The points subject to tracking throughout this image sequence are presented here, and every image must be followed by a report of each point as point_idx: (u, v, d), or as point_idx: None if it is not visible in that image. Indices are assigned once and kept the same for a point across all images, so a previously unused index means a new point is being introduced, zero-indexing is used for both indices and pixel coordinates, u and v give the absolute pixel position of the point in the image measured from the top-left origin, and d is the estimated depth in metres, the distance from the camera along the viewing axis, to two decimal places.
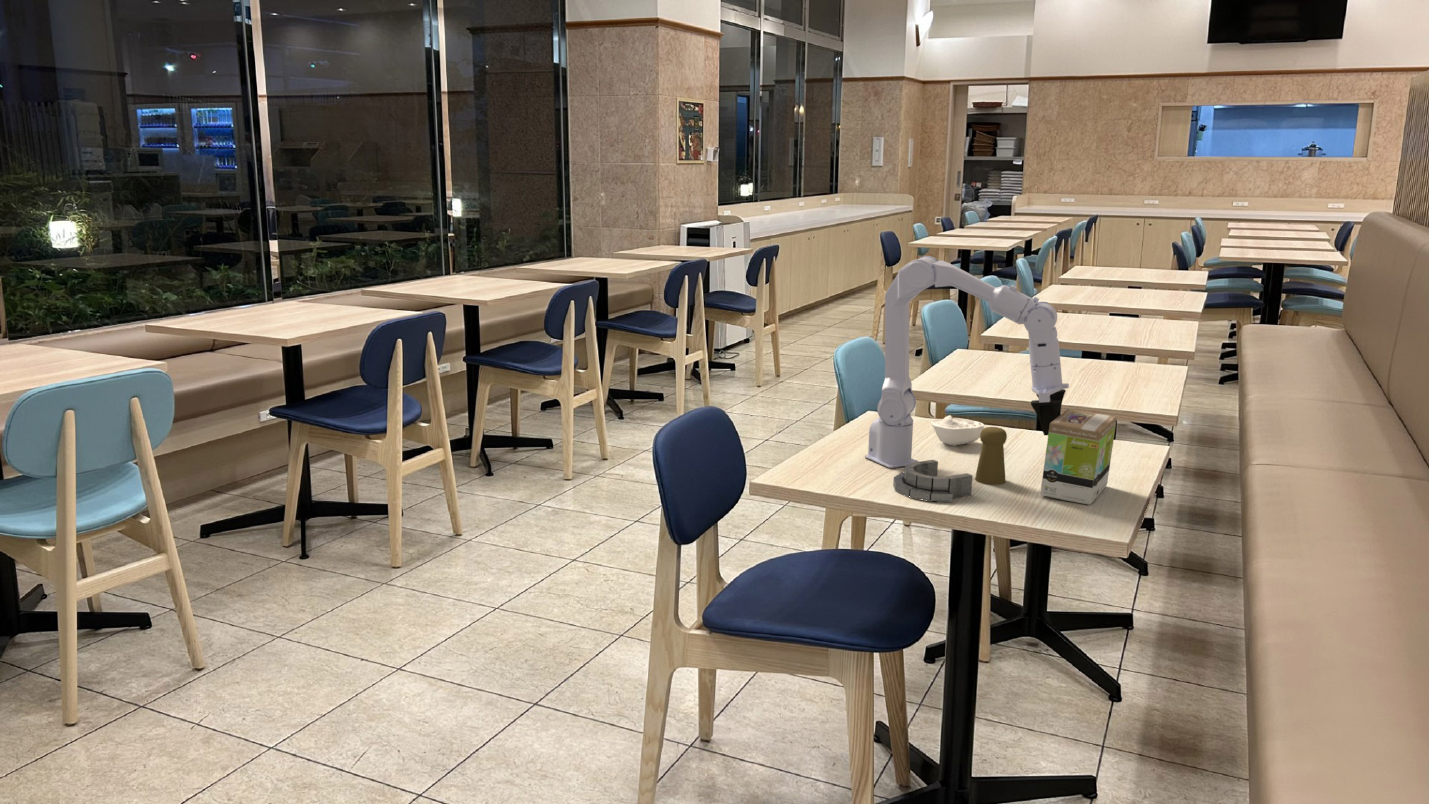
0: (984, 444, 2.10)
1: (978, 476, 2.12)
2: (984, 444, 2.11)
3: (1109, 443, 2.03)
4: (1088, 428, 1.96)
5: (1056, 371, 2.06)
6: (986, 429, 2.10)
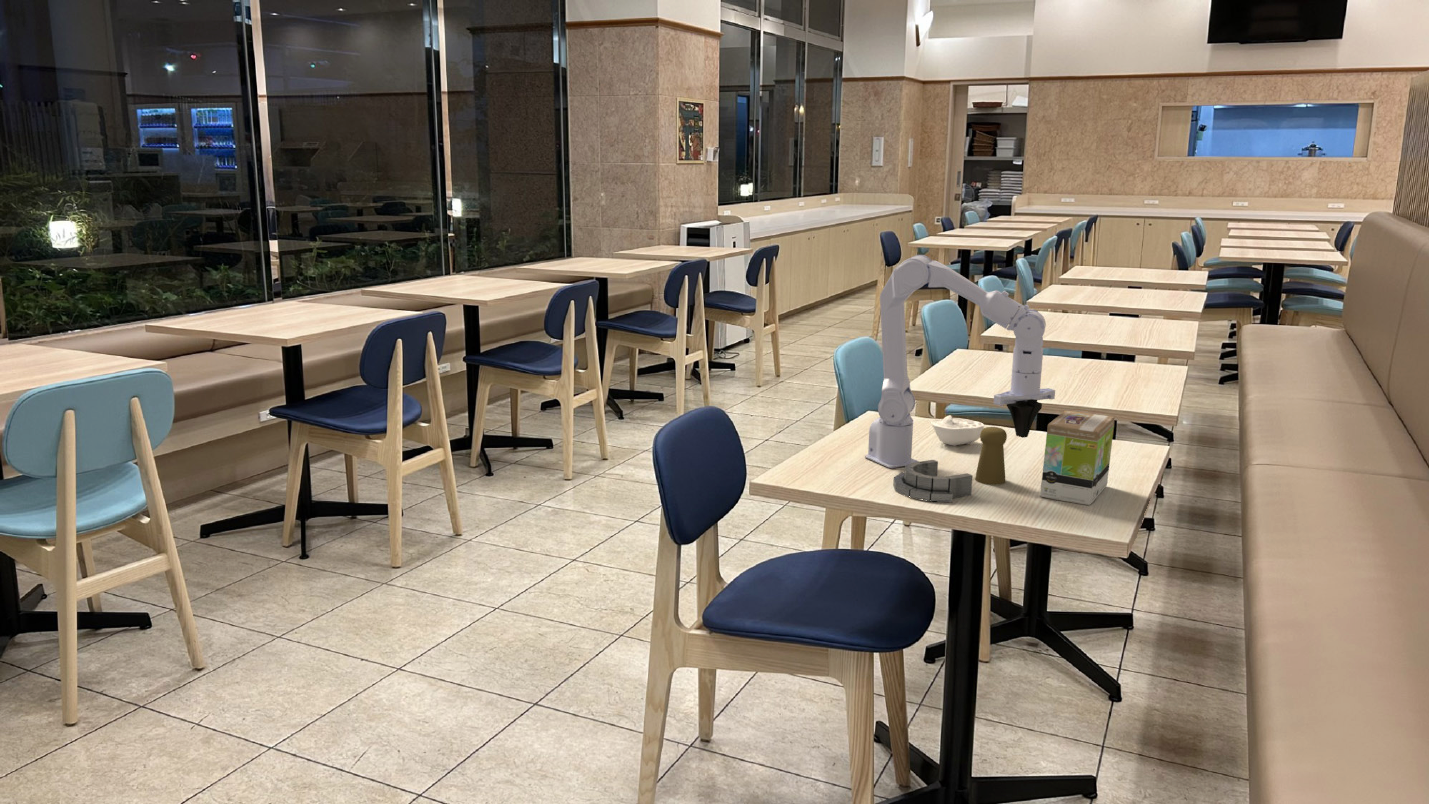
0: (984, 444, 2.10)
1: (978, 476, 2.12)
2: (984, 444, 2.11)
3: (1108, 443, 2.03)
4: (1086, 429, 1.96)
5: (1027, 380, 2.09)
6: (986, 429, 2.10)
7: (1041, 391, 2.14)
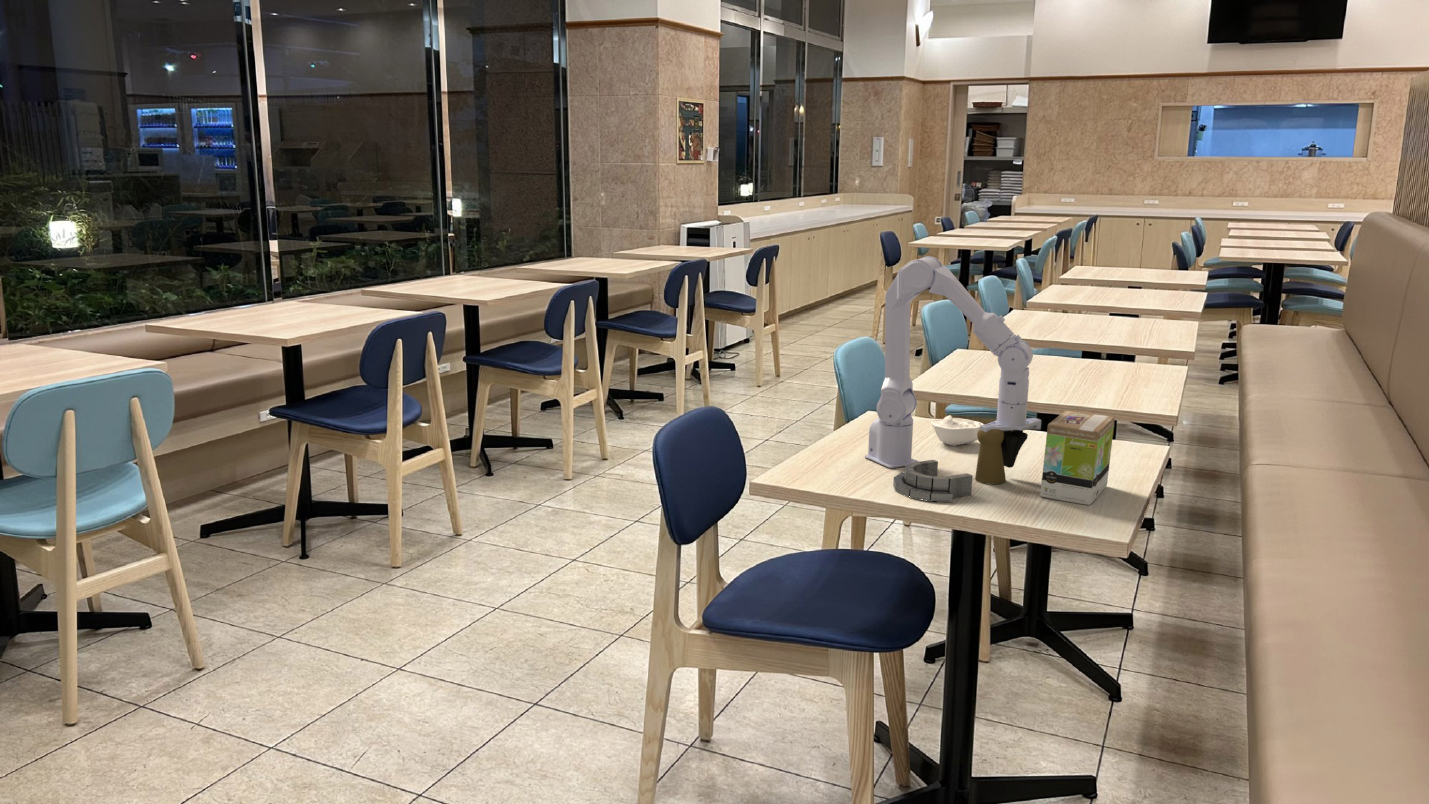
0: (982, 444, 2.10)
1: (978, 476, 2.12)
2: (981, 444, 2.10)
3: (1108, 443, 2.03)
4: (1086, 429, 1.96)
5: (1012, 411, 2.09)
6: None
7: (1027, 421, 2.14)
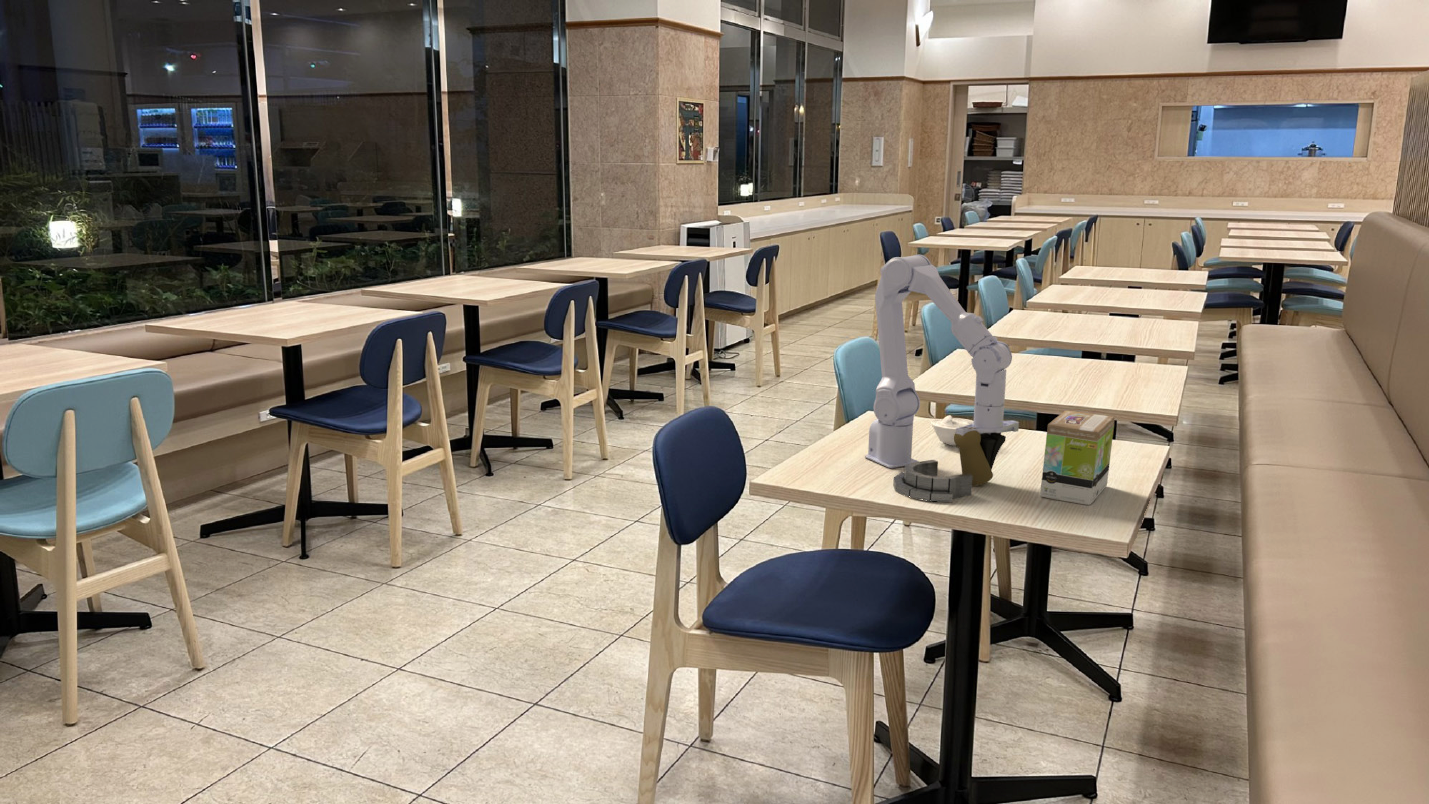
0: (961, 449, 2.07)
1: None
2: (960, 449, 2.07)
3: (1108, 443, 2.03)
4: (1086, 429, 1.96)
5: (989, 413, 2.06)
6: (958, 435, 2.06)
7: (1005, 423, 2.11)
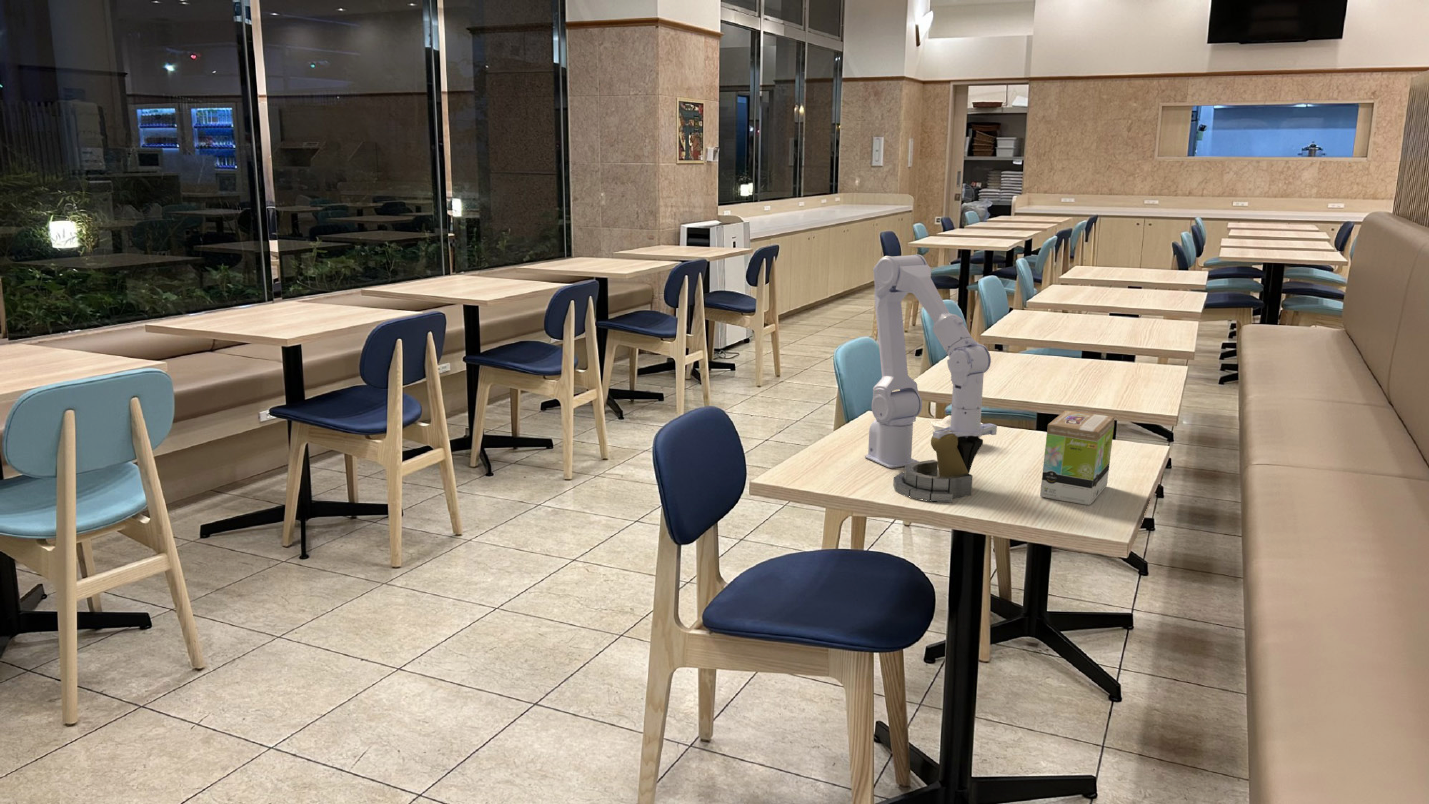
0: (938, 453, 2.05)
1: None
2: (937, 452, 2.05)
3: (1108, 443, 2.03)
4: (1086, 429, 1.96)
5: (966, 416, 2.03)
6: (935, 438, 2.04)
7: (982, 426, 2.09)
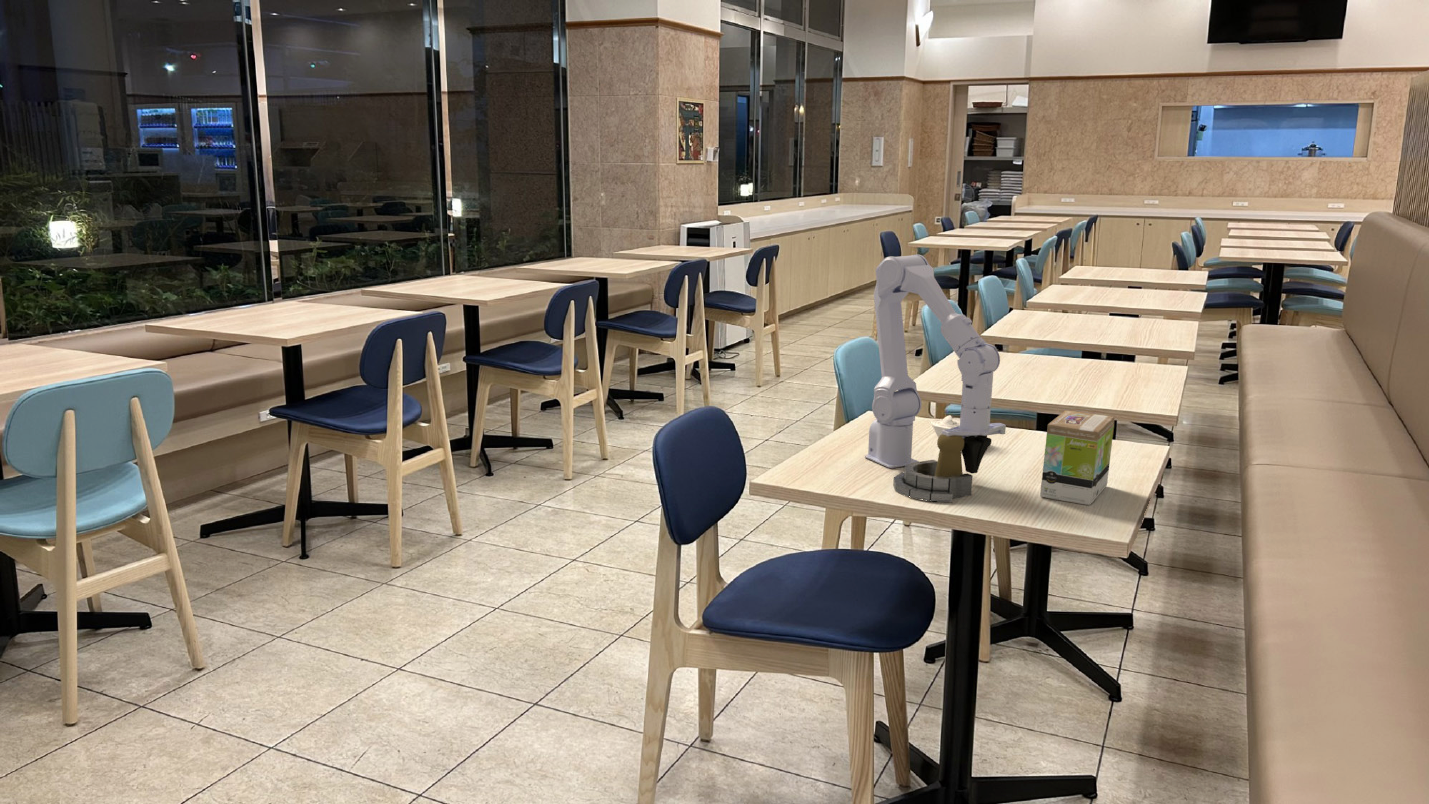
0: (941, 451, 2.05)
1: None
2: (941, 451, 2.05)
3: (1108, 443, 2.03)
4: (1086, 429, 1.96)
5: (975, 416, 2.05)
6: (943, 435, 2.05)
7: (991, 426, 2.10)
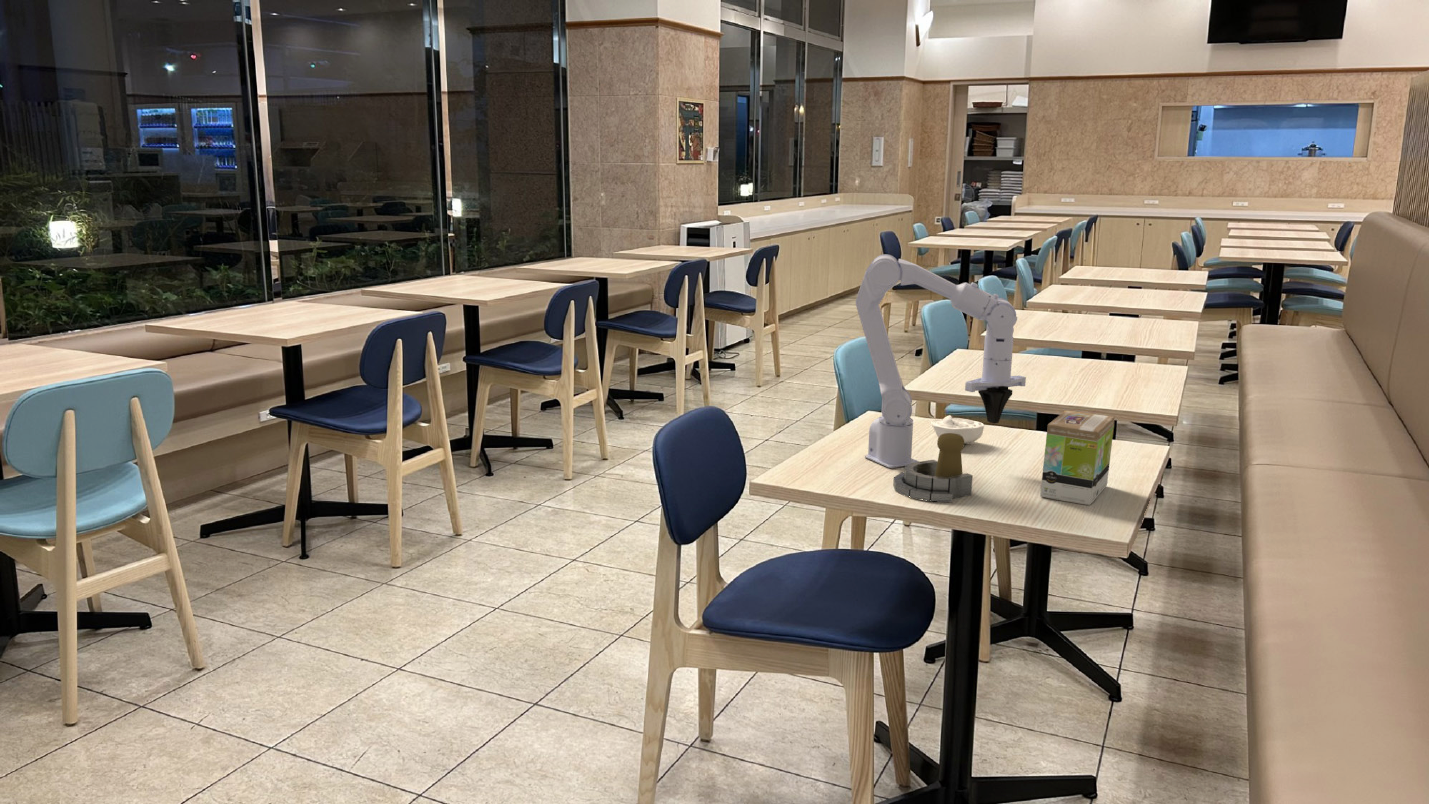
0: (941, 451, 2.05)
1: None
2: (941, 451, 2.05)
3: (1108, 443, 2.03)
4: (1086, 429, 1.96)
5: (997, 367, 2.14)
6: (943, 435, 2.05)
7: (1012, 378, 2.19)
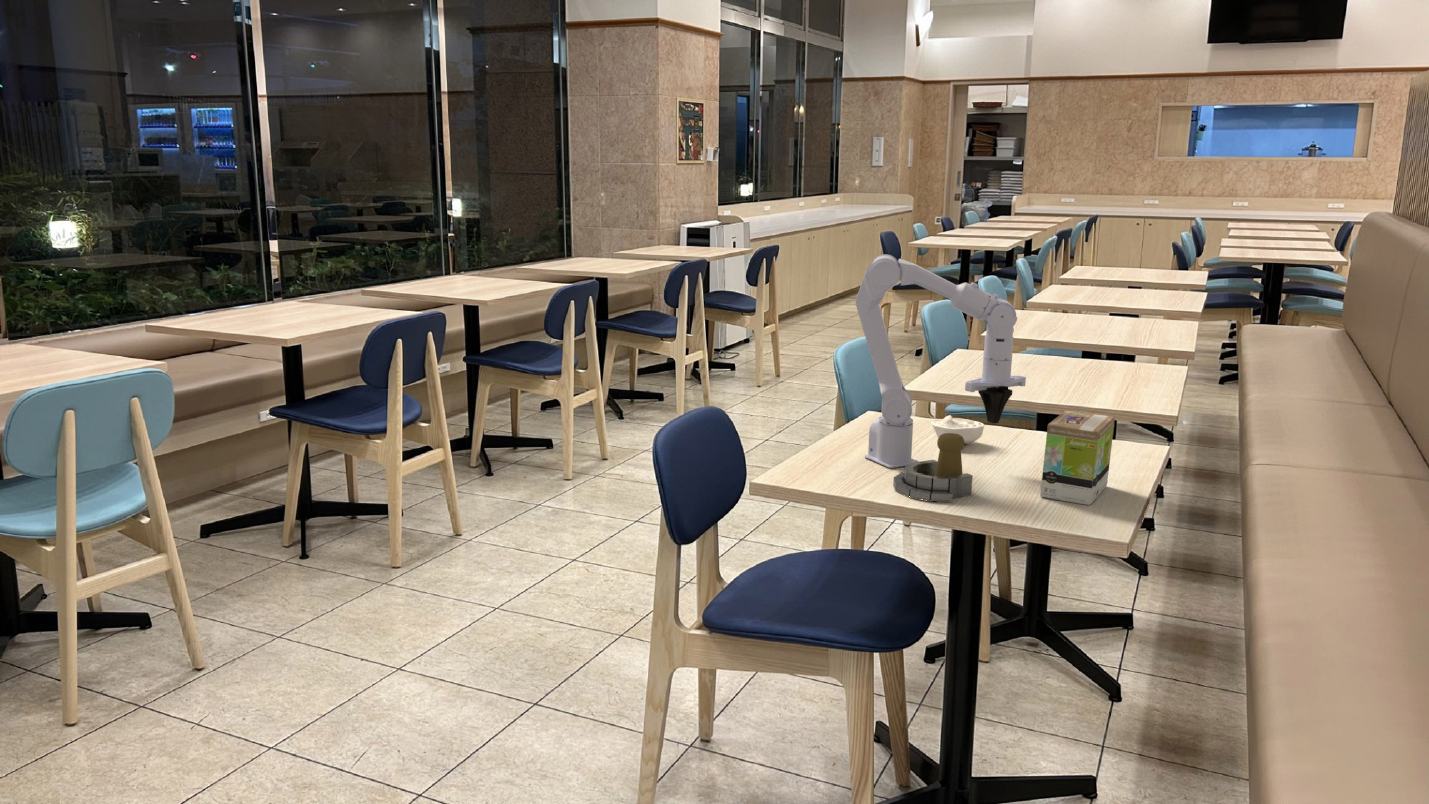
0: (941, 451, 2.05)
1: None
2: (941, 451, 2.05)
3: (1108, 443, 2.03)
4: (1086, 429, 1.96)
5: (997, 367, 2.14)
6: (943, 435, 2.05)
7: (1012, 378, 2.19)
